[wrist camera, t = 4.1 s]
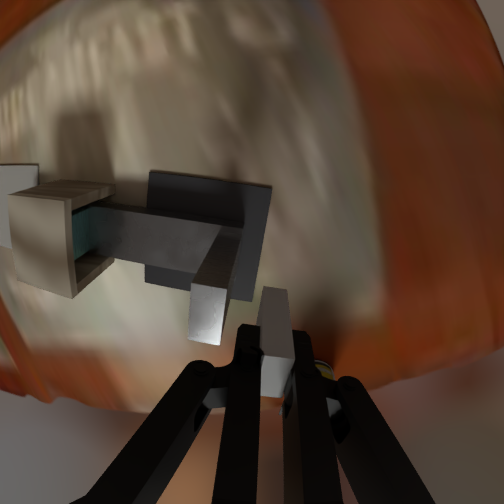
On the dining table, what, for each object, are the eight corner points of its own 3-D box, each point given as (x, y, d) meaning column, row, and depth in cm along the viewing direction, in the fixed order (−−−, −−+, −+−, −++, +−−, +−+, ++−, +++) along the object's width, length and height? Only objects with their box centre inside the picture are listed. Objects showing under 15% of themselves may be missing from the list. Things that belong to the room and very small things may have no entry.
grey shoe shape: (150, 172, 26) (149, 172, 26) (272, 188, 26) (272, 189, 26) (145, 281, 30) (144, 282, 30) (251, 300, 30) (251, 302, 30)
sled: (35, 194, 27) (-40, 222, 15) (244, 222, 27) (228, 281, 15) (37, 233, 28) (-32, 271, 17) (237, 270, 29) (218, 351, 17)
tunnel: (60, 179, 27) (7, 194, 18) (115, 184, 27) (64, 201, 18) (62, 250, 30) (17, 280, 21) (114, 261, 30) (72, 299, 22)
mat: (-10, 165, 26) (-11, 166, 26) (38, 165, 26) (37, 165, 26) (-5, 243, 30) (-6, 243, 30) (42, 256, 30) (41, 257, 30)
